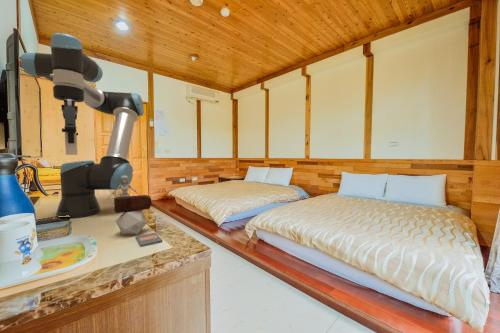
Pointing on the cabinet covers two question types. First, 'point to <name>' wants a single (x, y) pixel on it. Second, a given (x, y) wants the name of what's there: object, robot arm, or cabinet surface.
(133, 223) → the die
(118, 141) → the robot arm
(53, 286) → the cabinet surface
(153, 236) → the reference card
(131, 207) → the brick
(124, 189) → the human figurine
